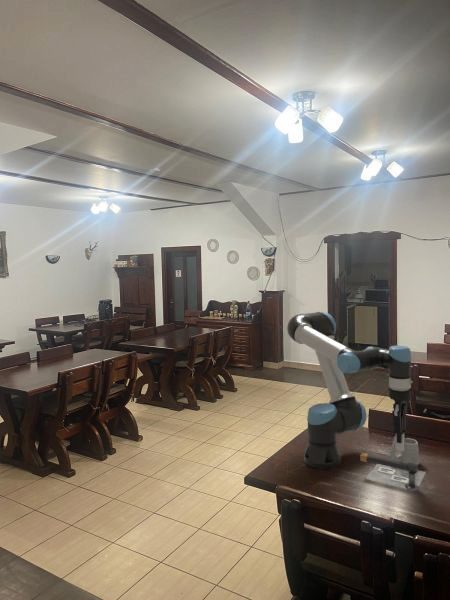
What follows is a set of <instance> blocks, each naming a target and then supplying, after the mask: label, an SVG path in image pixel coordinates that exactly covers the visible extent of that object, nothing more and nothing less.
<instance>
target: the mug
mask: <svg viewBox="0 0 450 600" xmlns="http://www.w3.org/2000/svg"><path fill="white" fill-rule="evenodd" d="M396 451H397V450H396V436H393V442H392V445H391V447H390V451H389V454H390V460H393V461H398V462H402V463H407V464H408V463H414V464H416V465H417V467H418V466H419V465H420V464H421V463H420V458H419V452H420V450H419V443H418V441H417V440H416V439H414V438H408V437H407V438H405V437H404V451H399V452H400V454H398V455H397V454H396Z"/></svg>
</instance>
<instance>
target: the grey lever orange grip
mask: <svg viewBox="0 0 450 600" xmlns="http://www.w3.org/2000/svg"><path fill="white" fill-rule="evenodd" d="M359 458H360V462H365V463H367V462H368V463H373V464H376V465H377V464H381V465H385V466H389V467H394V468H398V469H403V470H407V472H409V473H417V470H418V466H417V465H416V464H414V463H408V464H407V463H402V462H400V461H399V460H398V461H393V460H391V459H388V458H383V457H379V456H374V455H371V454H369V453H365V452H362V453H361V454H360V455H359Z"/></svg>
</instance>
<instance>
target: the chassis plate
mask: <svg viewBox="0 0 450 600" xmlns="http://www.w3.org/2000/svg"><path fill="white" fill-rule="evenodd" d="M380 467H384V468H388V469H393V470H396V472H395V474H394V475H396V476H400V477H405V478H409V472H407V470H403V469H398V468H394V467H389V466H385V465H381V464H376V465H375V466H374V468H373V469H372V471H371V472H369V474H368V475H367V477H366V480H369V481H373V482H377V483H380V484H385V485H390V486H393V487H396V488H400V489H401V488H402V489H406V488H405V485H406V484H404V483H400V482H396V481H392V480H390V479H391V477H392V476H393V475H390V474H385V473H381V472H377V471H378V469H379V468H380ZM426 473H427V471H423V470H419V469H417V473H415V485H417V486H419V487H420V485H421V483H422V481H423V479H424V477H425V475H426ZM407 484H409V482H408V483H407ZM406 490H407V489H406ZM417 491H418V490H416V491H415V492H417Z"/></svg>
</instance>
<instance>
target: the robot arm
mask: <svg viewBox="0 0 450 600" xmlns="http://www.w3.org/2000/svg"><path fill="white" fill-rule="evenodd" d="M286 327H287V329H286V330H287V334H288V336H289V338H291V339H292V340H293V341H294V342H295V343H297V344H300V345H305V346H308V347H309V348H310V349H312V350H314V351H315V354H316V357H317V360H318V364H319V366H320V370H321V373H322V376H323V379H324V382H325V385H326V388H327V389H326V390H327V391H328V394H329V398H330V399H329V402H328V403H327V402H323V403H322V402H321V403H316V404H313V405H311V406H310V407H309V408H308V410H307V419H306V420H307V444H306V449H305V451H304V454H303V462H304V464H305V465H306V466H308V467H311V468H314V469H318V470H330V469H331V468H335V467H337V466H339V465H340V464H341V462H342V456H341V453H340V450H339V447H338V445H337V435H338V436H339V435H341V434H345V433H346V434H347V433H348V432H354V431H357V430H359V429H362V427H364V425H365V424H366V421H367V415H368V414H367V411H366V408H365V406H364V404H363V403H362V402H361V401H359V400H357V399H356V396H355V395H353V394H352V393H350V389H349V386H348V382H347V380H346V378H345V375H344V374H355V373H357V372H363V371H369V370H374V369H384V370H387V371H388V387H389V388H388V398H389V399H390V400H392V401H394V403H393V405H392V407H393V408H392V409H393V410H392V411H391V413H392V420H393V421H392V422H393V431H392V433H393V434H395V437H396V450H395V451H397V452H401V451H404V439H405V434H407V430H406V428H407V427H406V425H407V410H408V409H407V408H408V401H410V400H411V399H412V390H411V387H412V385H411V384H413V380H411V378H412V376H411V375H412V374H411V373H412V371H411V369H412V352H411V349H410V347H408V346H405V345H391V346H390V347H388V348H387V349H386V348H381V347H378V346H367V347H366V348H365V349H363V350H354V349H352V348H350V347H348V346H346V345H344V344H342V343H340V342H338V341H337V340H335V334H336V332H337V329H336V328H337V323H336V321H335V318H334V317H333V316H332V315H331V314H330V313H328V312H325V311H323V312H321V311H316V312H307V313H299V314H295V315H294V316H293V317H291V318H290V320H289V321H288V323H287V326H286Z"/></svg>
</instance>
